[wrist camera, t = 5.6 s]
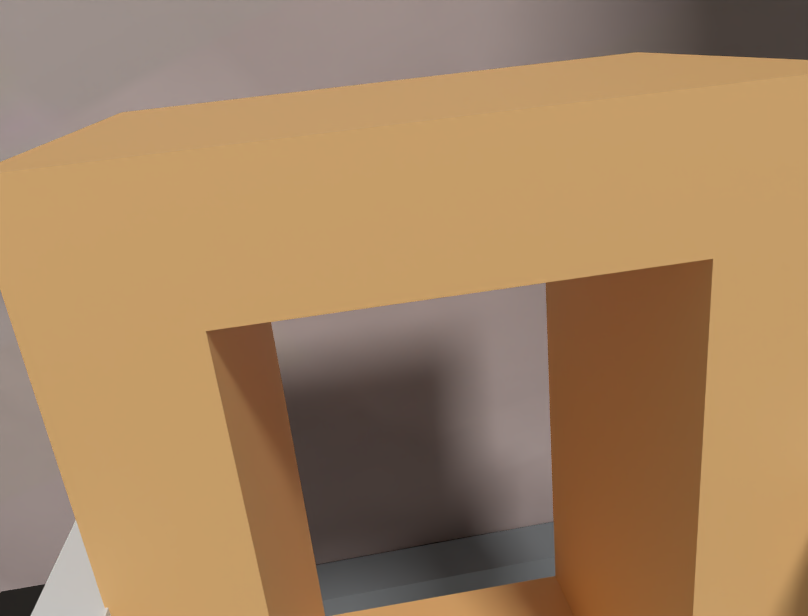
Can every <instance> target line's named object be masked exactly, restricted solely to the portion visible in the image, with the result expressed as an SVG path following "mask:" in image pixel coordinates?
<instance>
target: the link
mask: <svg viewBox="0 0 808 616" xmlns="http://www.w3.org/2000/svg"><path fill="white" fill-rule="evenodd" d="M540 283H546V303H547V334H548V365H549V395H550V426H551V457H552V487H553V518H554V549H555V576H552V577H546V578H541V579H535V580H529V581H524V582H518V583H513V584H507V585H501V586H496V587H490V588H484V589H479V590H473V591H468V592H462V593H456V594H451V595H445V596H439V597H434V598H428V599H423V600H417V601H411V602H406V603H400V604H395V605H389V606H383V607H378V608H372V609H366V610H361V611H355V612H350V613H344V614H338V615H333V616H808V60H797V59H775V58H753V57H731V56H708V55H686V54H664V53H642V52H635V53H626V54H618V55H609V56H601V57H592V58H584V59H575V60H567V61H558V62H549V63H541V64H532V65H524V66H515V67H507V68H498V69H490V70H481V71H472V72H464V73H455V74H447V75H438V76H430V77H421V78H412V79H404V80H395V81H387V82H378V83H370V84H361V85H353V86H344V87H335V88H327V89H318V90H310V91H301V92H293V93H284V94H276V95H267V96H258V97H250V98H241V99H233V100H224V101H216V102H207V103H198V104H190V105H181V106H173V107H164V108H156V109H147V110H139V111H130V112H122V113H119V114H117V115H114V116H112V117H109V118H107V119H104V120H102V121H100V122H97V123H95V124H92V125H90V126H87V127H85V128H83V129H80V130H78V131H75V132H73V133H70V134H68V135H65V136H63V137H61V138H58V139H56V140H53V141H51V142H48V143H46V144H43V145H41V146H39V147H36V148H34V149H31V150H29V151H26V152H24V153H21V154H19V155H17V156H14V157H12V158H9V159H7V160H4V161H2V162H0V290H1V293H2V296H3V299H4V302H5V305H6V308H7V311H8V314H9V317H10V321H11V324H12V327H13V330H14V333H15V336H16V339H17V342H18V345H19V348H20V351H21V354H22V357H23V360H24V363H25V366H26V369H27V372H28V375H29V378H30V381H31V384H32V388H33V391H34V394H35V397H36V400H37V403H38V406H39V409H40V412H41V415H42V418H43V421H44V424H45V427H46V430H47V433H48V436H49V439H50V442H51V445H52V448H53V452H54V455H55V458H56V461H57V464H58V467H59V470H60V473H61V476H62V479H63V482H64V485H65V488H66V491H67V494H68V497H69V500H70V503H71V506H72V509H73V512H74V516H75V519H76V522H77V525H78V528H79V531H80V534H81V537H82V540H83V543H84V546H85V549H86V552H87V555H88V558H89V561H90V564H91V567H92V570H93V573H94V576H95V580H96V583H97V586H98V589H99V592H100V595H101V598H102V601H103V604H104V607H105V608H109V611H110V614H111V616H325V612H324V607H323V602H322V596H321V591H320V585H319V580H318V575H317V569H316V564H315V558H314V553H313V548H312V542H311V537H310V531H309V526H308V520H307V515H306V510H305V504H304V499H303V493H302V488H301V483H300V477H299V472H298V466H297V461H296V456H295V450H294V445H293V439H292V434H291V429H290V423H289V418H288V412H287V407H286V401H285V396H284V391H283V385H282V380H281V374H280V369H279V364H278V358H277V353H276V347H275V342H274V337H273V331H272V326H271V322H274V321H281V320H288V319H295V318H302V317H309V316H316V315H323V314H330V313H337V312H344V311H351V310H358V309H365V308H372V307H379V306H386V305H393V304H400V303H407V302H414V301H421V300H428V299H435V298H442V297H449V296H456V295H463V294H470V293H477V292H484V291H491V290H498V289H505V288H512V287H519V286H526V285H533V284H540Z"/></svg>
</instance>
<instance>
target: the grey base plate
mask: <svg viewBox="0 0 808 616" xmlns="http://www.w3.org/2000/svg"><path fill="white" fill-rule="evenodd" d="M316 569H317V575H318V580H319V585H320V591H321V596H322V602H323V607H324V612H325V616H333V615H338V614H344V613H350V612H355V611H361V610H366V609H372V608H378V607H383V606H389V605H395V604H400V603H406V602H411V601H417V600H423V599H428V598H434V597H439V596H445V595H451V594H456V593H462V592H468V591H473V590H479V589H484V588H490V587H496V586H501V585H507V584H513V583H518V582H524V581H529V580H535V579H541V578H546V577H552V576H555V549H554V522H550V523H544V524H539V525H533V526H528V527H522V528H517V529H511V530H506V531H500V532H495V533H489V534H484V535H479V536H473V537H468V538H462V539H457V540H451V541H446V542H440V543H435V544H429V545H424V546H418V547H413V548H408V549H402V550H397V551H391V552H386V553H380V554H375V555H369V556H364V557H358V558H353V559H347V560H342V561H337V562H331V563H326V564H320V565H316Z"/></svg>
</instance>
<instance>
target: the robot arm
mask: <svg viewBox="0 0 808 616" xmlns="http://www.w3.org/2000/svg"><path fill="white" fill-rule="evenodd" d="M0 616H111V614H110V611H109V608H105V607H104V604H103V601H102V598H101V595H100V592H99V589H98V586H97V583H96V580H95V576H94V573H93V570H92V567H91V564H90V561H89V558H88V555H87V552H86V549H85V546H84V543H83V540H82V537H81V534H80V531H79V528H78V525H77V522H76V521H75V523H74V525H73V527H72V529H71V532H70V534H69V536H68V538H67V540H66V542H65V544H64V546H63V548H62V551H61V553H60V555H59V557H58V559H57V561H56V563H55V565H54V567H53V570H52V572H51V574H50V576H49V578H48V580H47V582H46V584H44V585H38V586H32V587H26V588H20V589H14V590H8V591H2V592H1V593H0Z"/></svg>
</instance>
